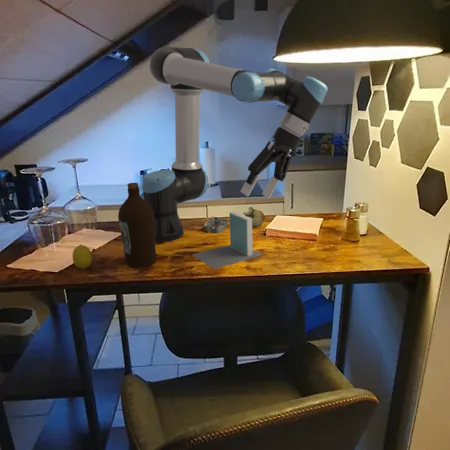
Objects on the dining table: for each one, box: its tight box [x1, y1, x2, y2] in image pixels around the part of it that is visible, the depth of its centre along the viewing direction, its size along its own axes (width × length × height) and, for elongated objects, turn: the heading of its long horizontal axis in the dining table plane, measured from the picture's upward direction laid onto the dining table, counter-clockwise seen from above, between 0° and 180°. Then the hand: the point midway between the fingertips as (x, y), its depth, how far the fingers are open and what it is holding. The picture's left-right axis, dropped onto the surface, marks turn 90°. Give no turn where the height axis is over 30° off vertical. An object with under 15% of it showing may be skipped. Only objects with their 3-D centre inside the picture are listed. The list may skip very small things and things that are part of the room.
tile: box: [229, 211, 254, 256], centre depth 130 cm, size 2×10×12 cm, turn 32°
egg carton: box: [204, 216, 229, 234], centre depth 156 cm, size 11×8×4 cm
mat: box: [191, 244, 263, 270], centre depth 129 cm, size 18×14×1 cm
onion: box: [242, 206, 266, 228], centre depth 156 cm, size 8×8×8 cm
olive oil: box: [117, 182, 157, 268], centre depth 124 cm, size 11×11×25 cm
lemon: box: [72, 244, 93, 270], centre depth 122 cm, size 6×6×8 cm
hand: (255, 195), depth 123 cm, fingers open, 13 cm apart
